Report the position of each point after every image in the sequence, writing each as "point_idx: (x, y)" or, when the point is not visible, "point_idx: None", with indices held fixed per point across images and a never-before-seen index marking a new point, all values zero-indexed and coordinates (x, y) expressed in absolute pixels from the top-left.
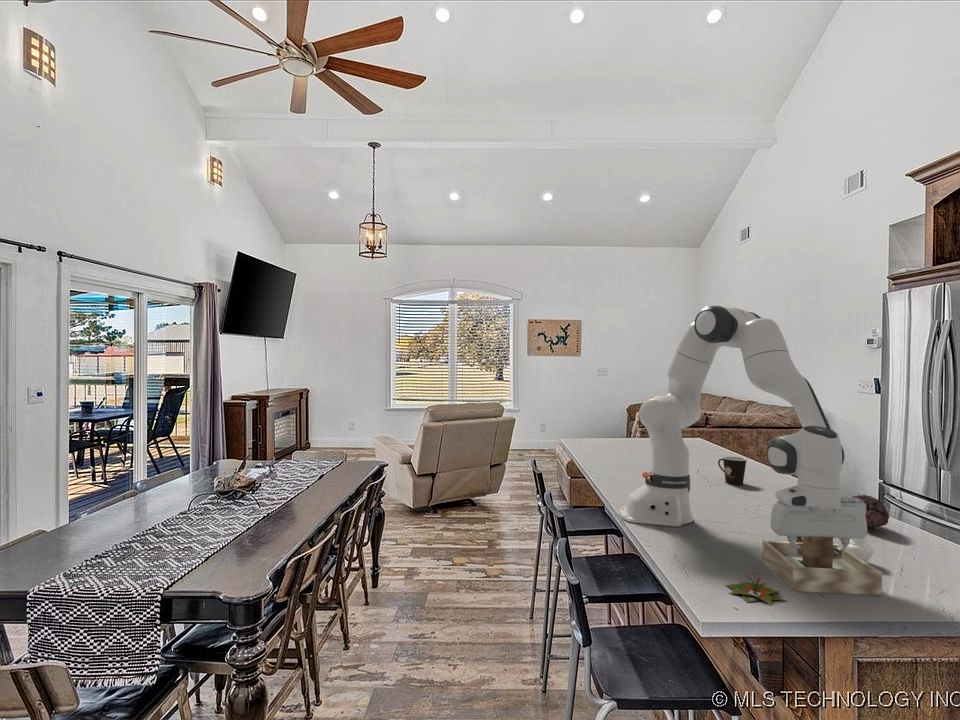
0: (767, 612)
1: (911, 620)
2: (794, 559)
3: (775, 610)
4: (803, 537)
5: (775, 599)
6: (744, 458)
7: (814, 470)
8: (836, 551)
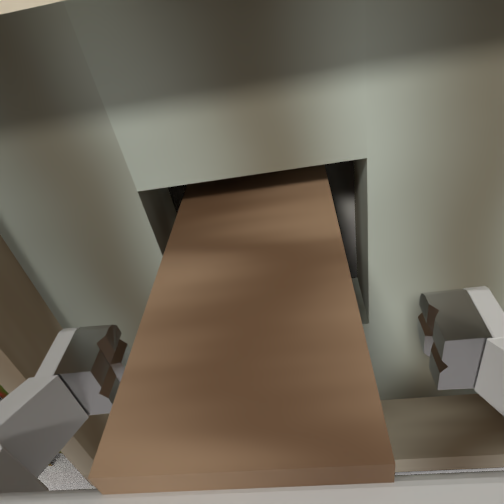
0: (48, 487)
1: (439, 470)
2: (119, 181)
3: (67, 479)
4: (121, 395)
5: (60, 452)
6: None
7: None
8: (431, 353)
